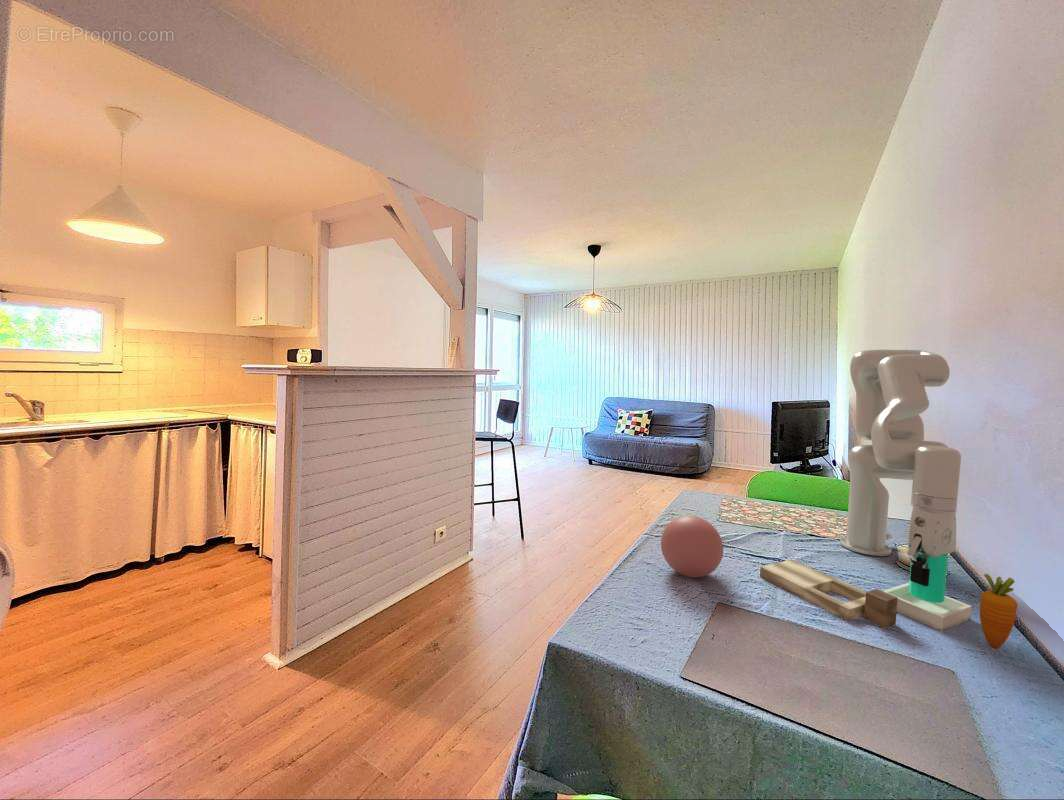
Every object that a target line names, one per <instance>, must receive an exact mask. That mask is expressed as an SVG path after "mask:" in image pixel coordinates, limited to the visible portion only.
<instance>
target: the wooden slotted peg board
mask: <svg viewBox="0 0 1064 800" xmlns="http://www.w3.org/2000/svg"><path fill="white" fill-rule="evenodd" d="M759 570H760V571H759V577H761V578H762V579H765V580H766V581H769V582H771V583H773V584H774V585H777V586H779V587H781V588H782V589H785V590H787V591H789V592H790V593H792V594H795V595H797V596H799V597H801V598H802V599H805V600H807V601H809V602H810V603H813V604H815V605H816V606H818V607H820V608H822V609H824V610H826V611H828V612H830V613H832V614H835V615H837V616H839V617H840V618H842V619H845V621H850V620H853V619H857V618H860V617H864V611H865V598H866V592H867V591H866V590H863V589H862V588H859V587H857V586H854V585H851V584H849V583H848V582H845V581H842V580H841V579H838V578H836V577H833V576H831V575H829V574H826V573H824V572H822V571H821V570H820V571H819V570H817V569H816V568H815V569H814V568H812V567H810V566H808V565H806V564H803V563H802V562H799V561H797V560H794V559H792V558H791V559H788V560H783V561H780V562H779V561H778V562H776V563H771V564H768V565H763V566H760V569H759ZM829 591H832V592H834V593H836V594H839V595H840V596H843V597H845V598H847V599H849V600H851V601H848V602H844V601H842V600H840V599H837V598H835V597H833V596H830V595H829V594H826V593H827V592H829Z"/></svg>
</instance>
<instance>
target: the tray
mask: <svg viewBox="0 0 1064 800" xmlns="http://www.w3.org/2000/svg"><path fill="white" fill-rule="evenodd" d="M909 583H910V581H909V582H906V583H903V584H899V585H897V586H894V587H891V588H888V589H884V590H882V591H883V592H886V593H888V594H891V595H893V596H895V597H898V601H897V613H900V614H902V615H904V616H907V617H909V618H911V619H913V620H916V621H918V622H920V623H922V624H925V625H927V626H929V627H931V628H933V629H936V630H938V631H941V632H943V631H947V630H949V629H951V628H952V627H955V626H958V625H961V624H962V622H963V623H965V622H968V621H969V620H968V619H970V618H972V608H973V606H972V605H970V604H967V603H964V602H963V601H959V600H957V599H955V598H952V597H949V596H947V595H945V601H944V602H942V603H934V602H929V601H924V600H922V599H919V598H916V597H914V596H913V595H911V594H910V592H909ZM970 620H971V619H970Z"/></svg>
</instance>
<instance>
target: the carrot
mask: <svg viewBox="0 0 1064 800" xmlns="http://www.w3.org/2000/svg"><path fill="white" fill-rule="evenodd" d="M983 576H984V577H985V579H986V580H987V582H988V584H989V585H990V587H991V589H987V590H984V591H982V592H981V594H980V599H979V619H980V620H979V621H980V626H981V630H982V633H983V636H984V639H985V640H986V642H987V644H988V646H989V647H990V648H991V649H992V648H993V649H995V650H999V648H1000V647H1001V646H1002V645H1004V643H1005V642H1006V641H1007V640H1008V638H1010V636H1011V633H1012V630H1013V627H1014V626H1015V621H1016V615H1017V609H1018V601H1017V600H1015V598H1013V597H1012V596H1011V595H1010V594H1008V593H1010V592H1012V591H1015V589H1014V588H1013V587H1011V586H1012V585H1014V583H1015V582H1016V581H1015V580H1014V578H1012V577H1008V578H1007V579H1006V580H1005V581H1004V580H1002V577H1001V576H997V577H996V580H995V581H996V582H995V583H994V580H993V578H992V576H991V575H990V574H989V573H984V574H983ZM993 649H992V650H993Z"/></svg>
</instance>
